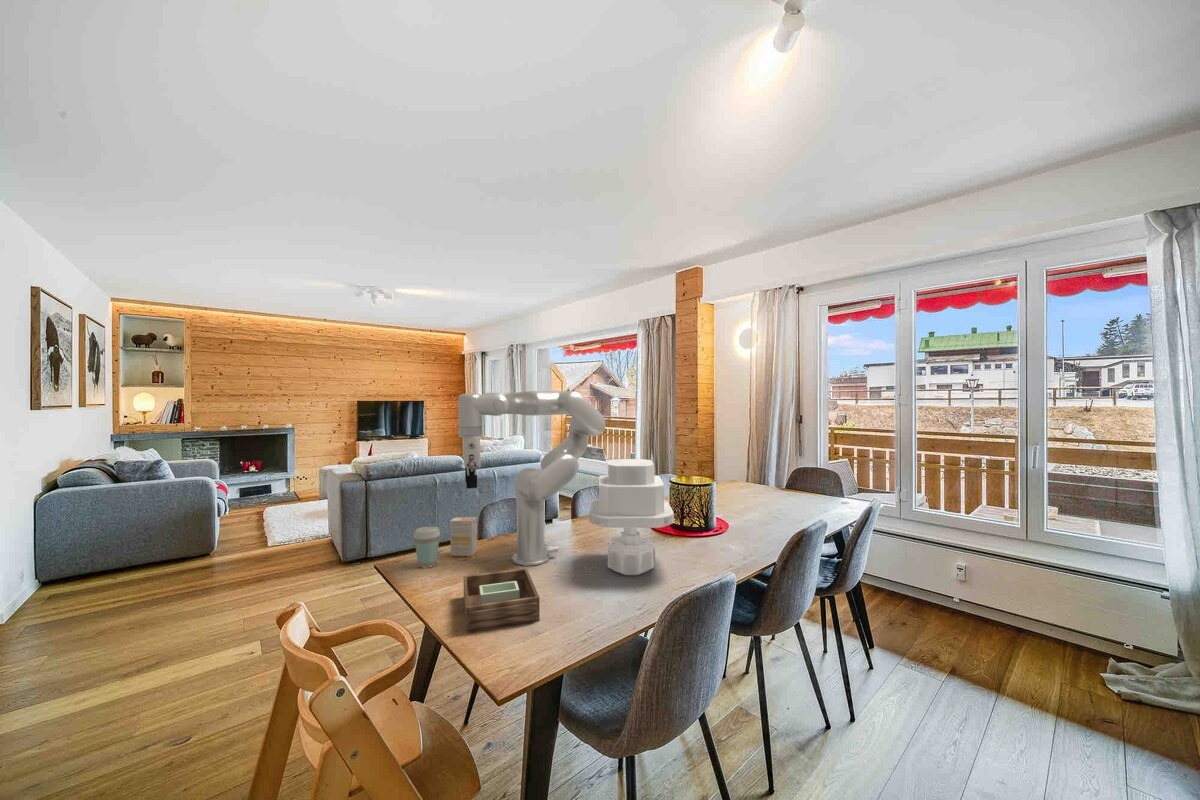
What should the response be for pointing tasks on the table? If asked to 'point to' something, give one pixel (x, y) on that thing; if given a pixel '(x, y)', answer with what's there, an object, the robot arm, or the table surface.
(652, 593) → the table surface
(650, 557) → the white tiered cake stand
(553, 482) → the robot arm
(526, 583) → the walnut crate
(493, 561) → the table surface
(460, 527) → the supplement box
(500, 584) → the sage crate
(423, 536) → the coffee cup
